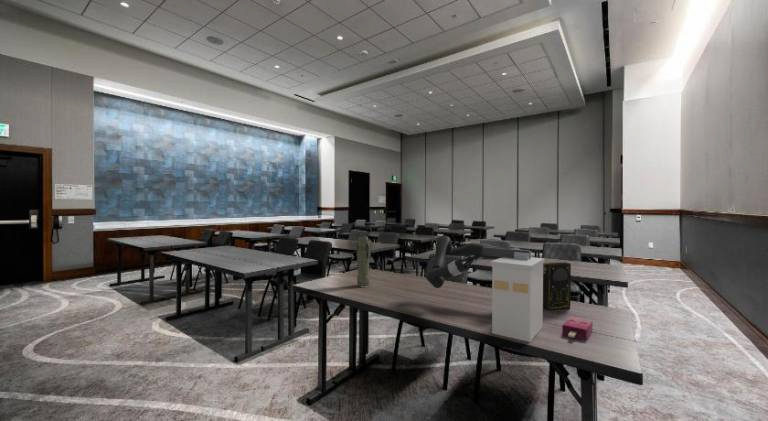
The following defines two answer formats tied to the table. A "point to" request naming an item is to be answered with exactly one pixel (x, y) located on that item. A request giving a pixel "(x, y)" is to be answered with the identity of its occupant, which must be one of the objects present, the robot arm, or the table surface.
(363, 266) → the thermos
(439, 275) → the robot arm
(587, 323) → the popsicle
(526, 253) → the cable bar
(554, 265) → the voltmeter
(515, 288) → the cabinet
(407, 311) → the table surface
